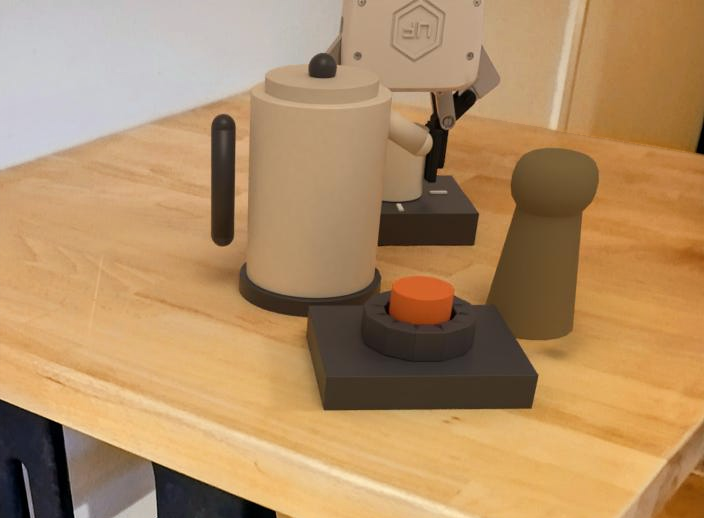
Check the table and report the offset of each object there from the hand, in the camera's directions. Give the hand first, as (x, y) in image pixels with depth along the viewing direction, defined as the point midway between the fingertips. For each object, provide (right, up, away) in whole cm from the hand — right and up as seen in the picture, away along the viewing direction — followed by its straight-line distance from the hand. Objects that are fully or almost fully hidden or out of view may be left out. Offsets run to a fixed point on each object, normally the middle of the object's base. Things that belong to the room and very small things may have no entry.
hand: (393, 175), depth 82 cm
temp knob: (0, -1, +1) cm, 1 cm away
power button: (-2, -16, -22) cm, 27 cm away
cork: (+7, -15, -13) cm, 21 cm away
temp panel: (0, -3, +2) cm, 4 cm away
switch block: (-2, -19, -20) cm, 27 cm away
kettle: (-8, -12, -9) cm, 17 cm away
